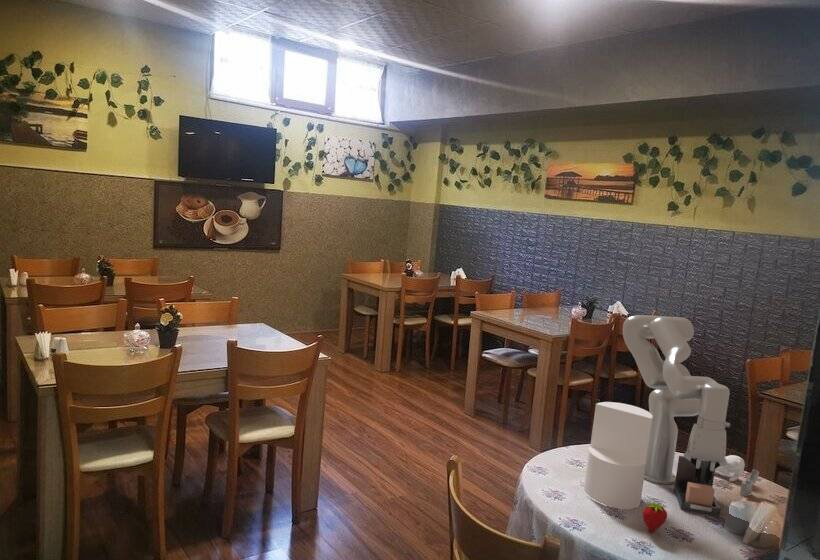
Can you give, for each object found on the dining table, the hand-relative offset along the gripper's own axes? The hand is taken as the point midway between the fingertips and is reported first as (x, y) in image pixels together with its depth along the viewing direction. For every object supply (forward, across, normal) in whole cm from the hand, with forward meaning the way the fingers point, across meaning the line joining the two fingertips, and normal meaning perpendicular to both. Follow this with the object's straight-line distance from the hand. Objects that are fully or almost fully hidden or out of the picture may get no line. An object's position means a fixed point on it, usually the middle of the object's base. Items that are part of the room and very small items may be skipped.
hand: (702, 480), depth 189 cm
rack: (+9, 0, -3) cm, 10 cm away
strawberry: (+9, +16, +23) cm, 29 cm away
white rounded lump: (+9, -14, -31) cm, 36 cm away
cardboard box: (+8, 0, 0) cm, 8 cm away
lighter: (+9, -19, -19) cm, 29 cm away
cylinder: (+9, +26, +4) cm, 28 cm away
